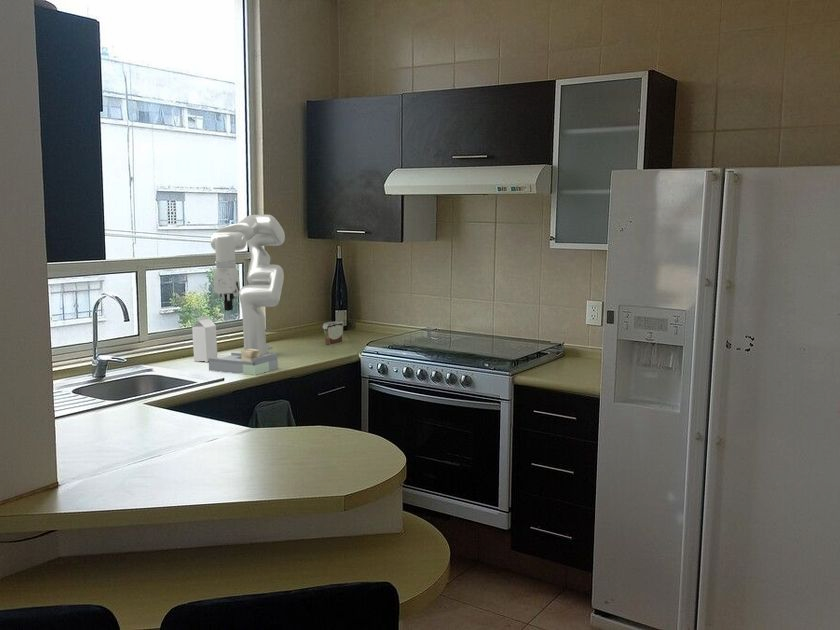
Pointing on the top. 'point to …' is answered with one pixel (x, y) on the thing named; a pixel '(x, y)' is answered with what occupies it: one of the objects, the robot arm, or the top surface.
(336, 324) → the food container
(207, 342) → the milk carton
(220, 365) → the two-pit board
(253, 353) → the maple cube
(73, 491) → the top surface
